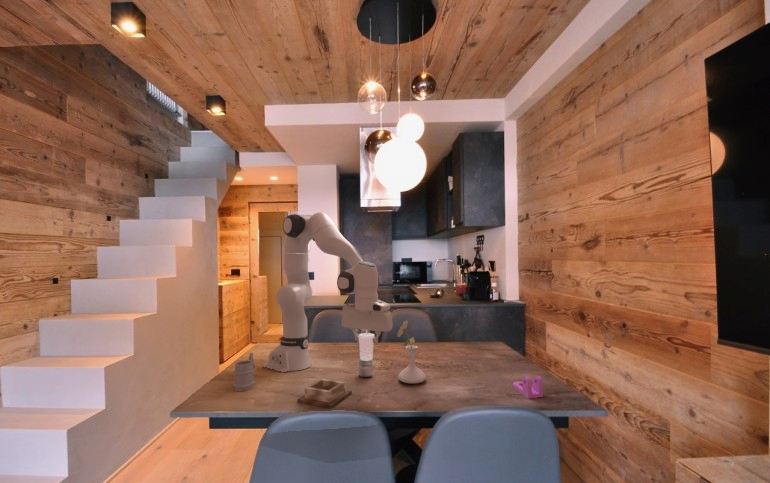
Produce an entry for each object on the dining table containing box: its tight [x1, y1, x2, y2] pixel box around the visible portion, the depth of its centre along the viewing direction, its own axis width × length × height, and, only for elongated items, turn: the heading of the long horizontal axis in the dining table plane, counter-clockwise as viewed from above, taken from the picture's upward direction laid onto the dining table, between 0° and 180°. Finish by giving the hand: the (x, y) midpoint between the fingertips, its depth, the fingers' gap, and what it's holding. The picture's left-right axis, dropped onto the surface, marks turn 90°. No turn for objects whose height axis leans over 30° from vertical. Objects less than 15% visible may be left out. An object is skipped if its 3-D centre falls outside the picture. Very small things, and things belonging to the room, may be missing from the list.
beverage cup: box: [358, 330, 376, 361], centre depth 132 cm, size 6×6×14 cm
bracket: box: [513, 375, 544, 399], centre depth 131 cm, size 13×6×7 cm, turn 7°
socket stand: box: [296, 378, 353, 409], centre depth 127 cm, size 14×14×4 cm
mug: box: [232, 352, 256, 392], centre depth 140 cm, size 8×12×12 cm, turn 174°
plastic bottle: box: [357, 330, 375, 378], centre depth 150 cm, size 6×7×20 cm
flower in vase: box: [396, 320, 427, 385], centre depth 143 cm, size 13×11×25 cm
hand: (366, 341), depth 132 cm, fingers closed on beverage cup, 6 cm apart
